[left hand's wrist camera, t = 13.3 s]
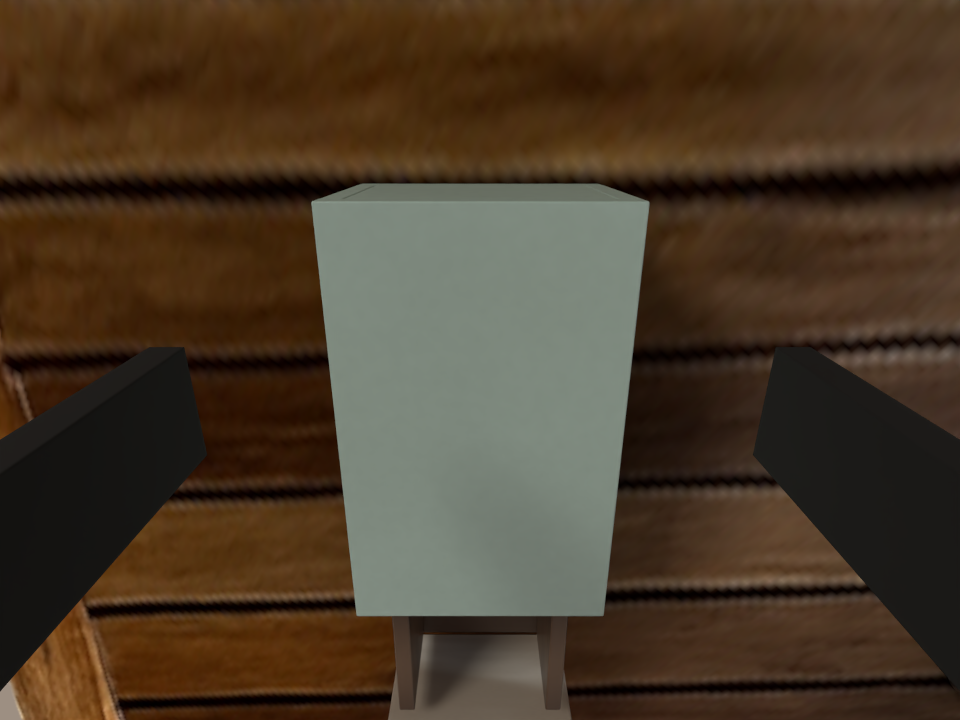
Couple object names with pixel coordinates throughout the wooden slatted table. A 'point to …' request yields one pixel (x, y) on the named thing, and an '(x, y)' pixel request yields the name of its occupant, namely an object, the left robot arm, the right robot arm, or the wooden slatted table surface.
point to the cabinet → (480, 389)
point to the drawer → (480, 669)
